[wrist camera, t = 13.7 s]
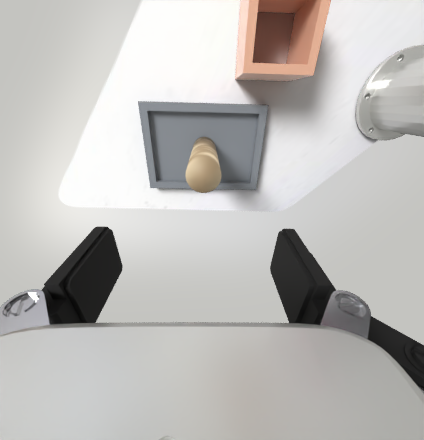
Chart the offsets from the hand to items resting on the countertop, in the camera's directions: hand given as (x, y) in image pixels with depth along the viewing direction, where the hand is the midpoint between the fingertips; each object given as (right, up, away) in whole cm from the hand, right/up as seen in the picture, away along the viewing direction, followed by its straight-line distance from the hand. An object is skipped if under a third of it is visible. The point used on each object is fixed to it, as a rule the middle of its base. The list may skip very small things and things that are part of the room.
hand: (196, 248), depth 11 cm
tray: (-1, +15, +24) cm, 28 cm away
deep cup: (+9, +27, +17) cm, 33 cm away
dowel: (0, +14, +24) cm, 28 cm away
